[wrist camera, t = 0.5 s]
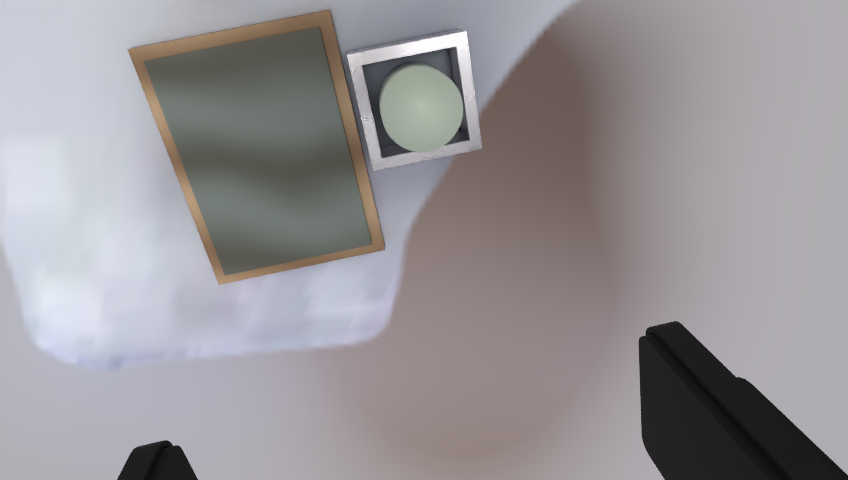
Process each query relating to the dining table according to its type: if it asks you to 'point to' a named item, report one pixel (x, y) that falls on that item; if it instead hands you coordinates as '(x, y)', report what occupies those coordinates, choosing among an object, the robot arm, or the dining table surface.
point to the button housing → (463, 80)
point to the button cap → (420, 107)
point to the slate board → (264, 144)
